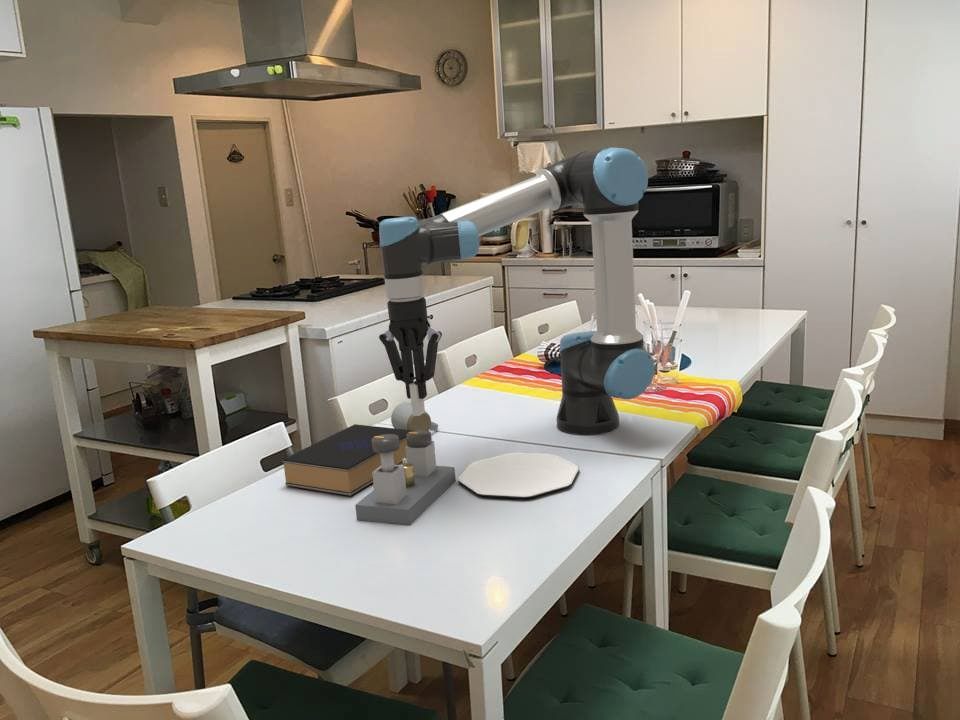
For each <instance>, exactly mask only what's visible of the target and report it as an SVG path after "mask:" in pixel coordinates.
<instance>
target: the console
mask: <svg viewBox="0 0 960 720" xmlns="http://www.w3.org/2000/svg"><path fill="white" fill-rule="evenodd" d="M435 448H436V447H435V441H432V443H431V444H430V445H428V446H425V447H409V446H406V447H405V451H406V458H407V460H408V463H411V464H413V469H414V479H415V485H414V486H413V487H409V488H406V482H405V471H404V465H394V467H395V470H394V471H393V472H382V467H381V466H380V467H379V468H377V469H376V470H375V471H373V472H372V475H373V490H372V491H371V492H369V493H368V494H367V495H366V496H364V497H363V498H362V499H361V500H359V501H358V502H356V503H355V506H354V507H355V516H356V520H357V521H367V522H368V521H369V522H376V523H387V524H395V525H396V524H398V525H406V526H411V524H412V523H414V522H415V521H416V519H418V518H419V517H420V516H421V515H422V514H423V513H424V512H425V511H426V510H427V509H428V508H429V507H430V506H431V505H432V504H433V503H434V502H435V501H436V500H437V499H438V498H439V497H440V496H441V495H442V494H443V493H444V492H445V491H446V490H448V488H449V487H451V486H452V485H453V484H454V483H455V482H456V471H455V468H456V467H455V466H448V465H447V466H444V465H437V462H436V461H437V460H436V450H435Z"/></svg>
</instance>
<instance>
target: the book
mask: <svg viewBox="0 0 960 720" xmlns="http://www.w3.org/2000/svg"><path fill="white" fill-rule="evenodd" d="M412 431H414V430H404V429H395V428H394V427H393V428H392V427H386V426H385V427H384V426H375V425H364V424H356V423H354V424H352V425H350V426H348V427H346V428H344V429H343V430H340V431H338V432H336V433H334V434H332V435H330V436H327V437H326V438H324V439H322V440H320V441H317V442H315V443H313V444H312V445H311V444H310V445H309V446H307V447H305V448H303V449H301V450H299V451H297V452H295V453H293V454H291V455H289V456H287V457H285V458H282V459H281V461H282V463H283V469H284V477H285V482H284V483H285V486H287V487H293V488H298V489H299V488H300V489H306V490H312V491H318V492H324V493H330V494H336V495H341V496H348V497H349V496H350V497H351V496H353V495H354V494H356V493H357V492H359V491H361V490H363V489H365V488H366V487H368V486H369V485H371V484H372V483H373V475H372V472H373V471H375V470H376V469H377V468H379V467H380V466H381V457H380V453H376V452H374V451H373V449H372V438H373V437H375V436H378V435H383V434H395V435H397V436H398V437H399V447H400V448H399V449H398V450H396V451H393V457H394V465H400V464H403V462H402V458H406V451H405V447H406V446H408V445H407V437H406V435H407V433H409V432H412Z"/></svg>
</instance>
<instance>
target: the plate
mask: <svg viewBox="0 0 960 720" xmlns="http://www.w3.org/2000/svg"><path fill="white" fill-rule="evenodd" d="M579 470H580V467H579V466H578V465H577V464H574V463H573V462H570V461H568V460H567V459H564V458H563V457H560V456H558V455H556V454H554V453H553V454H552V453H536V452H535V453H534V452H533V453H532V452H508V453H503V454H500V455H499V454H498V455H497V456H496V455H495V456H492V457H488V458H487V457H486V458H484V459H479V460H475V461H473V462H470V464H469V465H468V466H467V467H466V468H465V469H464V471H463V472H462V473H461V474H460V475H459V477H458V478H457V482H459V483H460V484H462V485H463V486H465V487H466V488H468V489H469V490H471V491H472V492H473V493H475V494H476V495H477V496H481V497H494V498H495V497H497V498H514V499H515V498H516V499H530V498H531V499H532V498H534V497H538V496H541V495H545V494H549V493H552V492H556V491H559V490H560V491H561V490H563V489H567V488H569V487H570V486H571V485H572V484H573V482H574V480H575V478H576V476H577V474H578V472H579Z"/></svg>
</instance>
